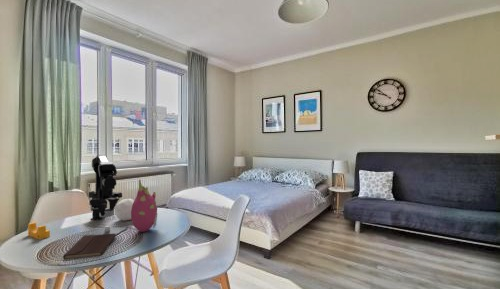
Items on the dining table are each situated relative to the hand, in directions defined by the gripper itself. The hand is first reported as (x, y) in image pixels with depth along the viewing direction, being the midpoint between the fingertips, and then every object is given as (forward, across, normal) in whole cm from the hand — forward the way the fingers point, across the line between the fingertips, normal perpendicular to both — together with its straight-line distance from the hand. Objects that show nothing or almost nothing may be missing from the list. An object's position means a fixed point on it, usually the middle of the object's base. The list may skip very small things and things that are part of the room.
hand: (106, 213), depth 130 cm
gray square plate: (+11, 0, 0) cm, 11 cm away
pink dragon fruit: (+11, -5, +19) cm, 23 cm away
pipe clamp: (+11, +8, -34) cm, 36 cm away
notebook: (+11, +17, +5) cm, 21 cm away
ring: (+1, 0, 0) cm, 1 cm away
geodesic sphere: (+11, -22, -3) cm, 25 cm away
